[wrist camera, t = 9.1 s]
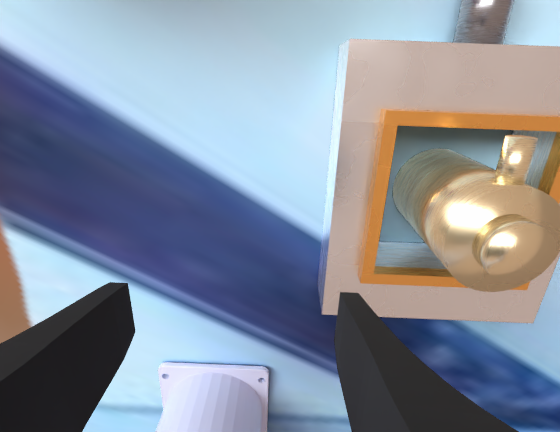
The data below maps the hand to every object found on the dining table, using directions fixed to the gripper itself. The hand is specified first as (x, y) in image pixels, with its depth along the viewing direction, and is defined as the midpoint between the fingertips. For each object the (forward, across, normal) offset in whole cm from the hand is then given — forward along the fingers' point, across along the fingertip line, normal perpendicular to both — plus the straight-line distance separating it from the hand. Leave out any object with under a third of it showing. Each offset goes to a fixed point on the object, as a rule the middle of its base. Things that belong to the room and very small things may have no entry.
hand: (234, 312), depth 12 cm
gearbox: (+9, -10, -3) cm, 14 cm away
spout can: (+9, -10, -2) cm, 14 cm away
